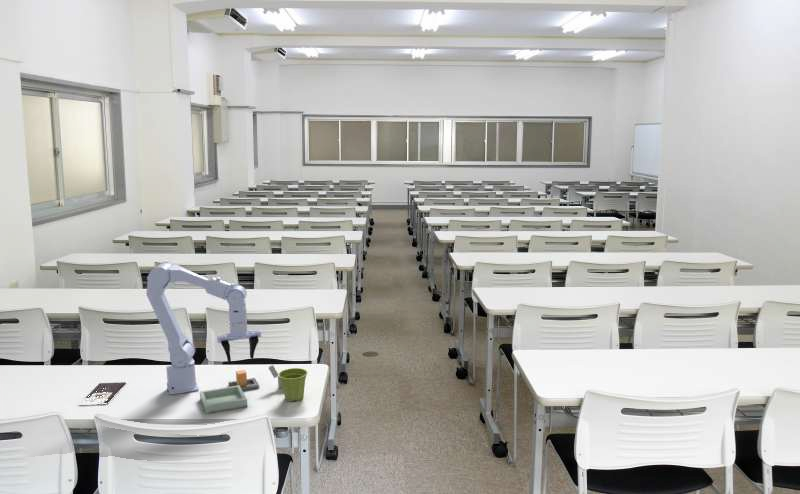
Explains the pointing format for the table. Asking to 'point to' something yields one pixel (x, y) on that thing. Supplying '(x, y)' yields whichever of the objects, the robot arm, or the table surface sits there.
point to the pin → (241, 378)
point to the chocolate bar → (110, 388)
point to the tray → (223, 399)
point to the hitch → (247, 387)
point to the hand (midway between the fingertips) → (240, 359)
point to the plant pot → (293, 383)
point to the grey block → (275, 375)
